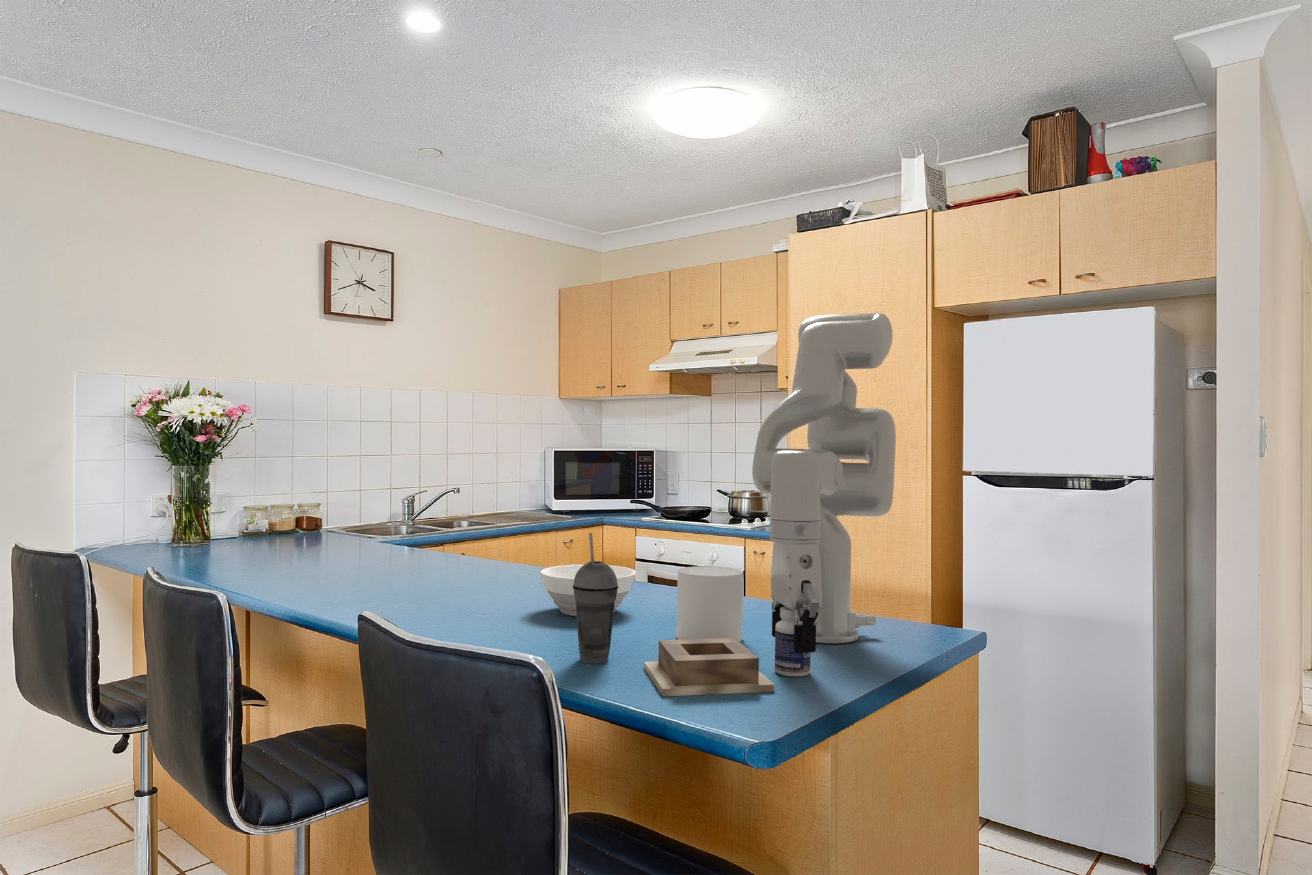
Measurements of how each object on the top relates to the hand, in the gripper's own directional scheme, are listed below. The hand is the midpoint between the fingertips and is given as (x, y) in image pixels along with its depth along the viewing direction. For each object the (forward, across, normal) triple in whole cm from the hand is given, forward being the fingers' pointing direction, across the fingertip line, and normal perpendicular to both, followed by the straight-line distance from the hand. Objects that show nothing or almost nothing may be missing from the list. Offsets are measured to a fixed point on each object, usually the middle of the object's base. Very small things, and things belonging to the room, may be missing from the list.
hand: (792, 643), depth 125 cm
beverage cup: (+4, +11, +29) cm, 31 cm away
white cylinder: (+5, +23, +7) cm, 24 cm away
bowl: (+5, +48, +26) cm, 55 cm away
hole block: (+4, -2, +14) cm, 15 cm away
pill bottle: (+5, 0, 0) cm, 5 cm away
